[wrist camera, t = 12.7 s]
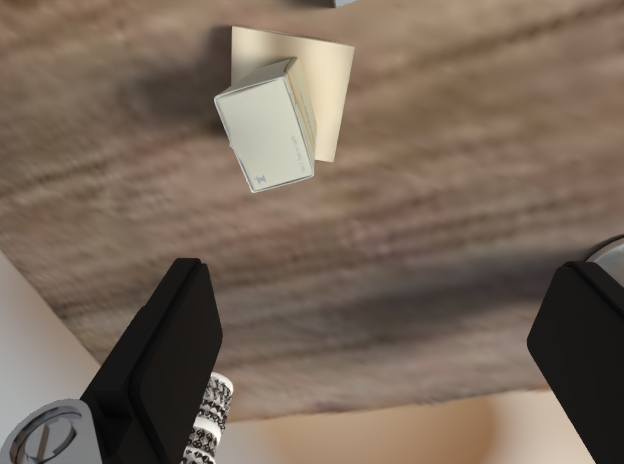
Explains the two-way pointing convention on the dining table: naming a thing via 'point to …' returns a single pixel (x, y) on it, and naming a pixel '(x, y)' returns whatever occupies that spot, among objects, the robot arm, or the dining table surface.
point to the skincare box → (271, 125)
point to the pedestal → (316, 69)
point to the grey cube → (341, 2)
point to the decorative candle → (209, 421)
